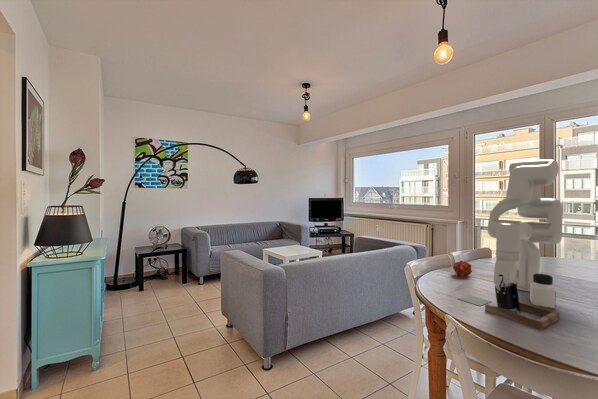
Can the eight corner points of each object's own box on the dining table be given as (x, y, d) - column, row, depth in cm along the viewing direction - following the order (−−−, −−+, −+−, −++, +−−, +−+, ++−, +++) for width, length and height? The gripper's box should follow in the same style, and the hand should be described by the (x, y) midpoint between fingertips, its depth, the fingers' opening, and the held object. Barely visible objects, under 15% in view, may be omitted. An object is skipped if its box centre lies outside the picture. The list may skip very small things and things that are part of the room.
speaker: (521, 307, 112) (518, 280, 112) (520, 313, 108) (518, 285, 108) (497, 304, 117) (494, 279, 117) (496, 310, 113) (493, 283, 113)
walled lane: (504, 303, 120) (504, 297, 119) (559, 319, 104) (559, 312, 104) (485, 310, 112) (485, 304, 112) (541, 329, 97) (541, 322, 97)
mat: (469, 295, 129) (469, 294, 129) (491, 301, 121) (491, 301, 121) (457, 298, 124) (457, 298, 124) (479, 306, 116) (479, 305, 116)
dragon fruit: (466, 276, 163) (461, 284, 154) (452, 265, 167) (446, 272, 158) (476, 265, 159) (472, 273, 150) (462, 255, 162) (457, 262, 154)
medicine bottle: (555, 308, 114) (556, 278, 114) (532, 304, 118) (533, 275, 118) (551, 302, 120) (552, 273, 120) (529, 299, 124) (530, 271, 124)
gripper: (507, 251, 119) (506, 294, 120) (485, 256, 110) (484, 303, 111) (529, 254, 113) (528, 300, 114) (508, 260, 104) (506, 310, 105)
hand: (506, 301), depth 112 cm, fingers closed on speaker, 6 cm apart
